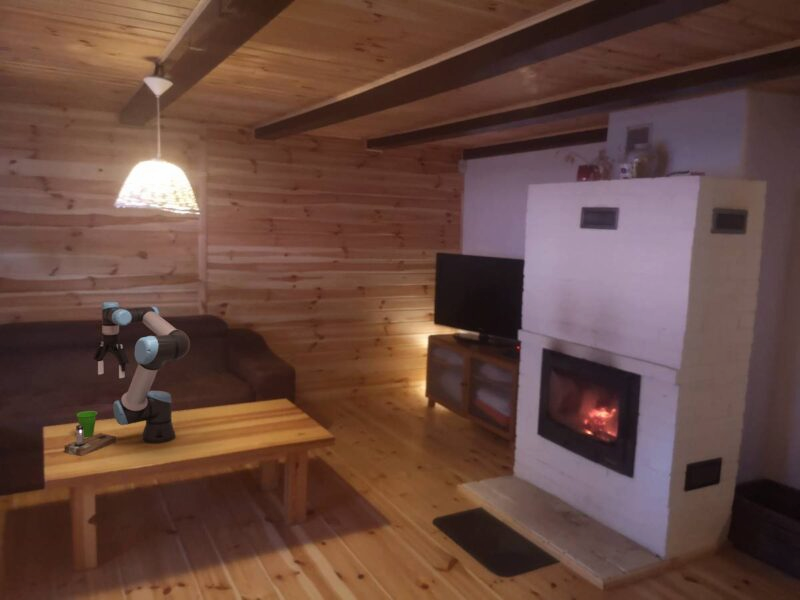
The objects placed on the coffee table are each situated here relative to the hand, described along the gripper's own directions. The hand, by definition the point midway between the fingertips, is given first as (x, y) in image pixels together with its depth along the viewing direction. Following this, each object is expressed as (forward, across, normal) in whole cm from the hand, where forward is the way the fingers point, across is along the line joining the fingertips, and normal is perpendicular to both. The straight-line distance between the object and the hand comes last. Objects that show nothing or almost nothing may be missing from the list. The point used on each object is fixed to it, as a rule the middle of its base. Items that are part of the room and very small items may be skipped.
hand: (111, 375), depth 311 cm
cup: (+29, +6, +9) cm, 31 cm away
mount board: (+29, -8, +20) cm, 36 cm away
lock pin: (+29, -8, +26) cm, 39 cm away
